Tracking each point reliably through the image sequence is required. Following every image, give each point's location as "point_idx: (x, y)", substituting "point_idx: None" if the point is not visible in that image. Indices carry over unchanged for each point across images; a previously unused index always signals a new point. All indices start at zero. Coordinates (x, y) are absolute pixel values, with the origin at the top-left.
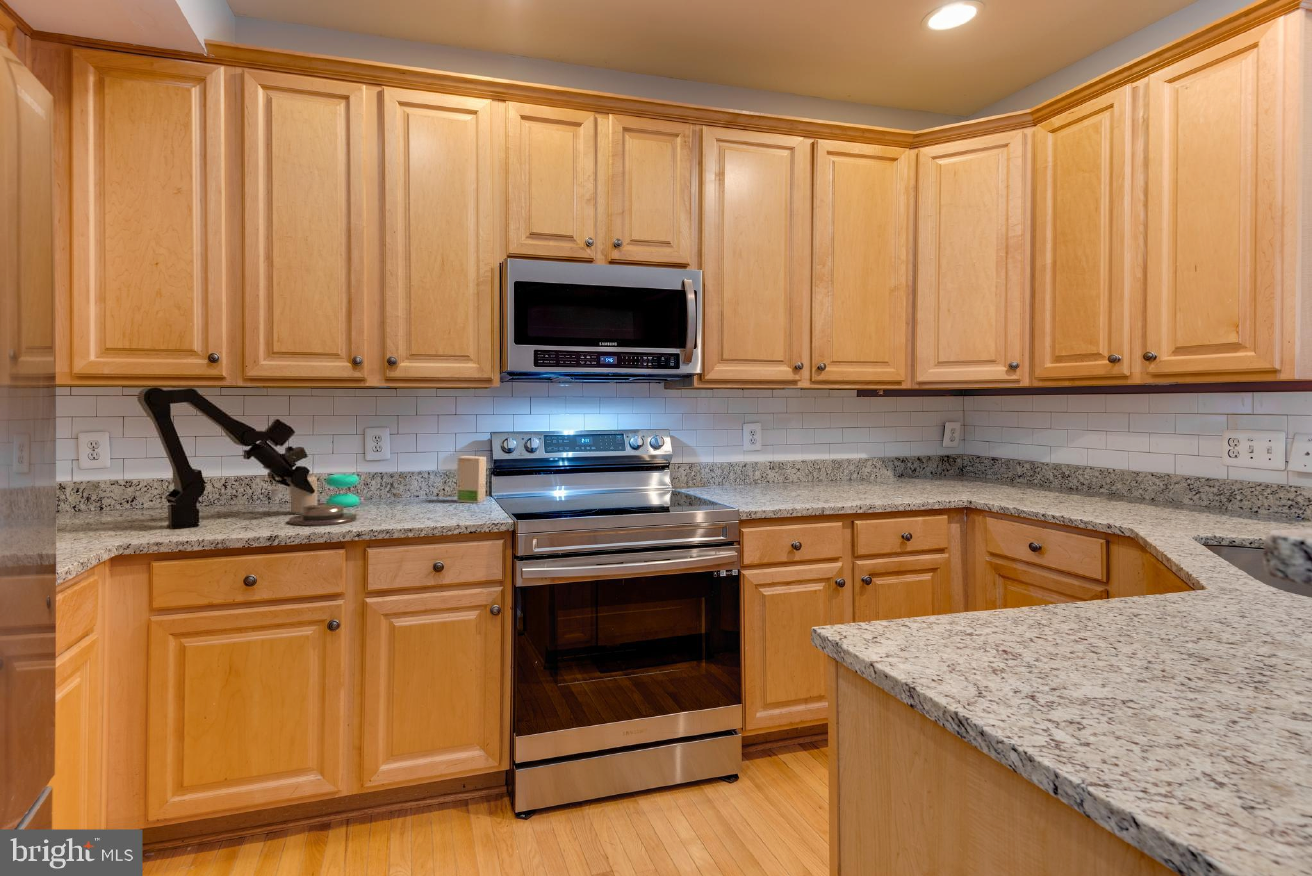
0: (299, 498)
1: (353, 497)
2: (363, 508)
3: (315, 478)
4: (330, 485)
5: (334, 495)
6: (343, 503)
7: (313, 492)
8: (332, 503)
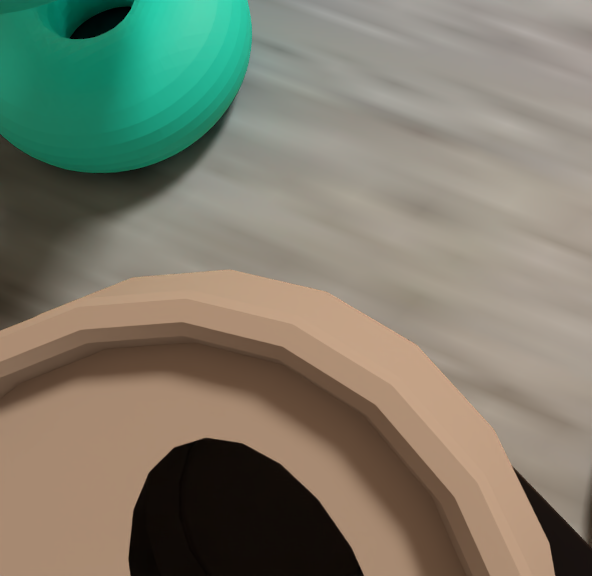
0: None
1: None
2: (401, 13)
3: (360, 336)
4: (5, 12)
5: (50, 58)
6: (237, 82)
7: None
8: (163, 152)
